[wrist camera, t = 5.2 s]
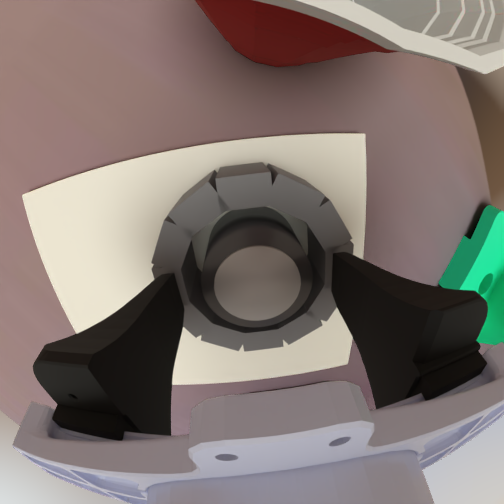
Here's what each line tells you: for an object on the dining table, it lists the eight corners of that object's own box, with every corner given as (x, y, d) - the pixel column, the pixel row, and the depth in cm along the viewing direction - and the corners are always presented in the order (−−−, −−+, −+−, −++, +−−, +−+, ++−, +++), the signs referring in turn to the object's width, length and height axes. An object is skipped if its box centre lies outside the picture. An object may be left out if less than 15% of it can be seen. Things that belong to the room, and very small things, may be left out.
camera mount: (478, 196, 16) (570, 249, 7) (508, 228, 17) (576, 277, 8) (415, 316, 21) (474, 400, 11) (454, 325, 22) (504, 391, 13)
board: (345, 357, 22) (360, 395, 18) (109, 376, 21) (97, 410, 18) (359, 133, 14) (398, 137, 10) (28, 192, 14) (-11, 211, 10)
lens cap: (294, 281, 17) (310, 324, 13) (213, 287, 17) (208, 332, 13) (295, 202, 15) (316, 229, 11) (203, 208, 14) (192, 238, 11)
